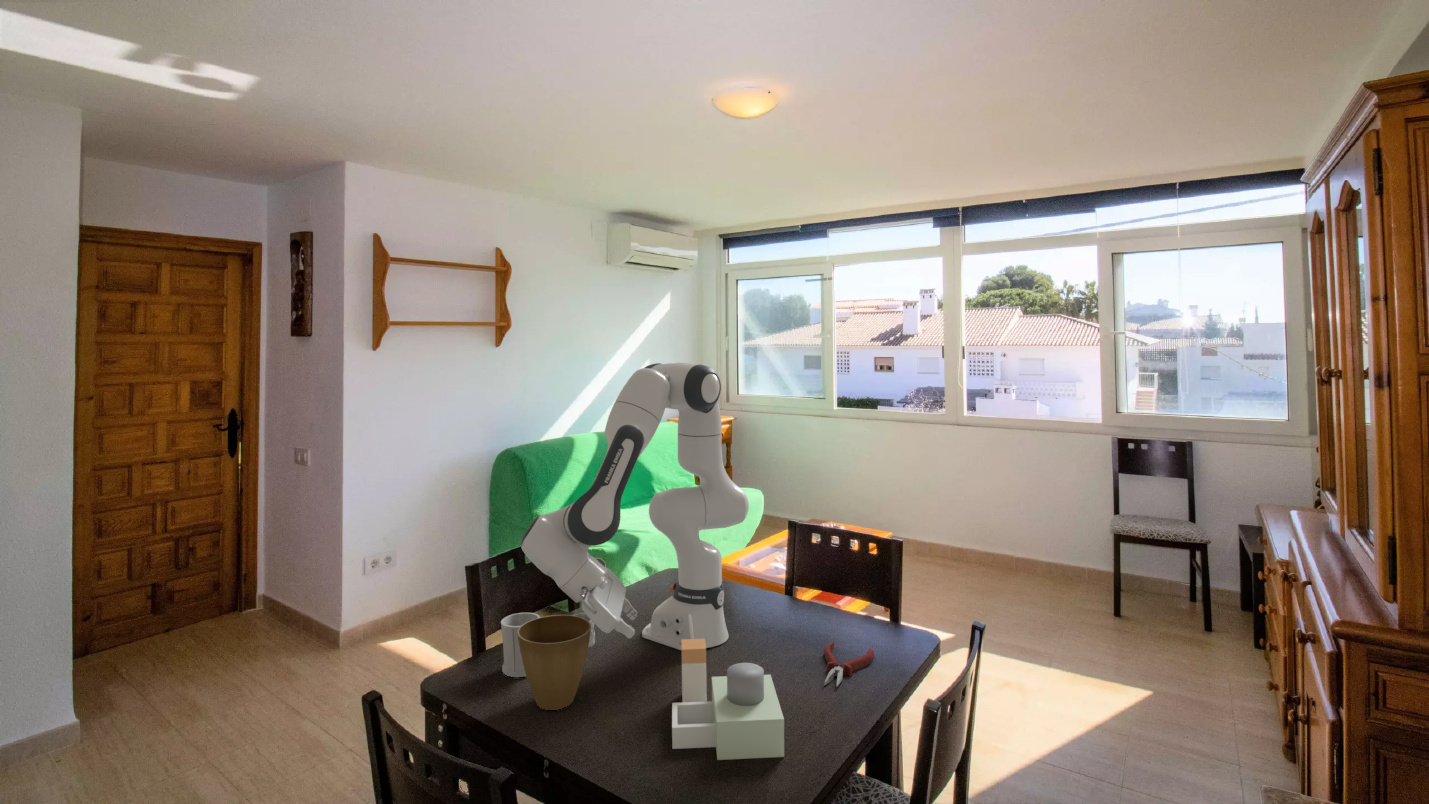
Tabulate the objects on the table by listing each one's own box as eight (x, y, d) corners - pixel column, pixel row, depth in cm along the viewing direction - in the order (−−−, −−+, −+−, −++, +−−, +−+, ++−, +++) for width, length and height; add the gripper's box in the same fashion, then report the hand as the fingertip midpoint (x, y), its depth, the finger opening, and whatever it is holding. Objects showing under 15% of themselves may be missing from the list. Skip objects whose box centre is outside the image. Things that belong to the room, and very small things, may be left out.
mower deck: (672, 761, 119) (671, 696, 118) (672, 711, 136) (671, 654, 135) (784, 756, 120) (784, 691, 119) (770, 707, 137) (770, 650, 136)
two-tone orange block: (682, 706, 138) (681, 649, 137) (682, 694, 143) (681, 639, 142) (706, 705, 138) (706, 648, 137) (705, 693, 143) (704, 638, 142)
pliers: (804, 686, 147) (804, 674, 147) (828, 649, 165) (828, 639, 165) (856, 696, 142) (856, 684, 142) (875, 658, 160) (875, 647, 160)
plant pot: (525, 728, 130) (522, 648, 129) (515, 693, 144) (513, 620, 143) (600, 711, 136) (598, 634, 135) (584, 679, 150) (582, 609, 149)
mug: (600, 643, 169) (599, 617, 169) (579, 652, 164) (578, 625, 164) (575, 633, 176) (574, 608, 175) (554, 641, 171) (553, 615, 170)
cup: (555, 667, 156) (554, 616, 155) (529, 684, 148) (527, 631, 147) (520, 658, 161) (518, 609, 160) (492, 675, 152) (491, 623, 152)
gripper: (589, 586, 127) (642, 635, 128) (601, 555, 148) (646, 597, 149) (566, 610, 127) (619, 658, 128) (581, 576, 148) (627, 617, 149)
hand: (634, 625), depth 139 cm, fingers open, 8 cm apart
